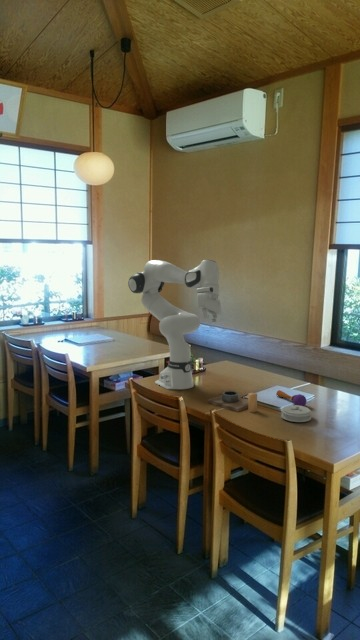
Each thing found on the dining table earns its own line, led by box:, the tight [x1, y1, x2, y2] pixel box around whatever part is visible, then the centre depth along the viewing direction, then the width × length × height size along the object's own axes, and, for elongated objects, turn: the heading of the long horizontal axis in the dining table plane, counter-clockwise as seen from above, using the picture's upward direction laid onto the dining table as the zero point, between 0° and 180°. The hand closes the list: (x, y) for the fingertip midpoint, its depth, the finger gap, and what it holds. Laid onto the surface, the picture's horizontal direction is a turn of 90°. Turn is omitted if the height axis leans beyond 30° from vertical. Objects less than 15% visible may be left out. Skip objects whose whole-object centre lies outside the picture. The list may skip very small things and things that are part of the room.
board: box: [207, 395, 248, 413], centre depth 219 cm, size 18×14×2 cm
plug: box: [247, 392, 258, 414], centre depth 209 cm, size 4×4×8 cm
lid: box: [280, 404, 312, 423], centre depth 199 cm, size 13×13×5 cm
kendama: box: [276, 389, 308, 407], centre depth 221 cm, size 6×6×20 cm
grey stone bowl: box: [221, 390, 240, 403], centre depth 219 cm, size 8×8×4 cm
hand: (210, 320), depth 218 cm, fingers open, 8 cm apart
